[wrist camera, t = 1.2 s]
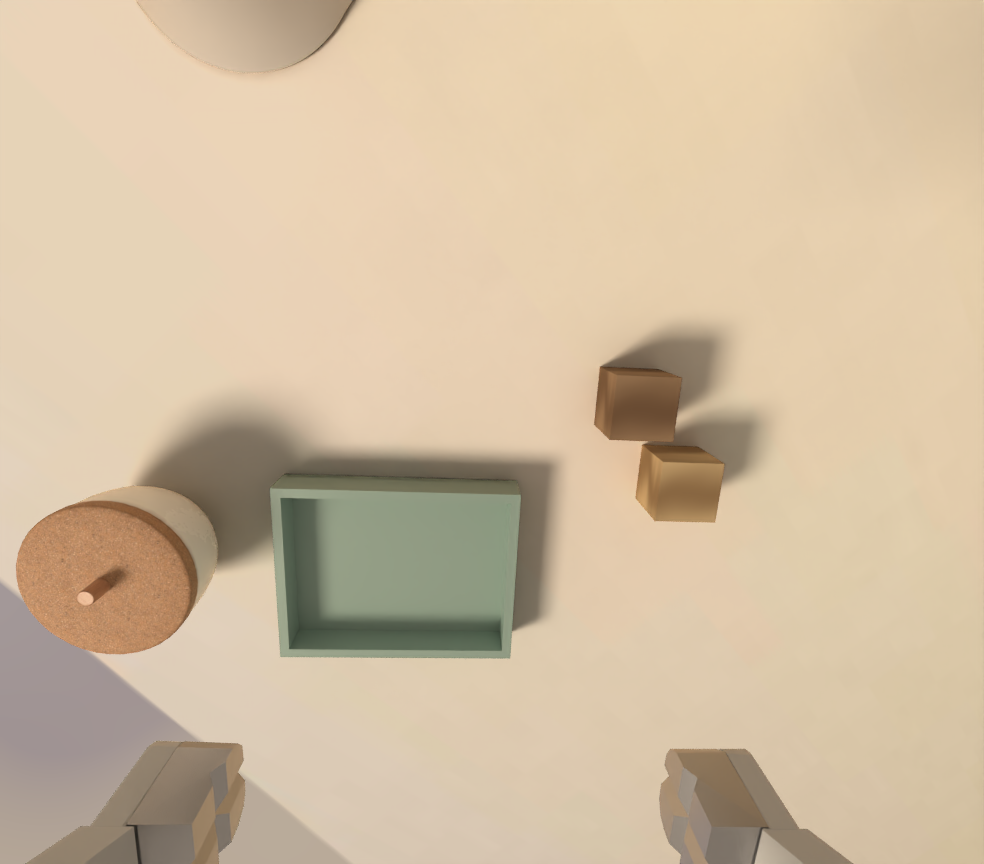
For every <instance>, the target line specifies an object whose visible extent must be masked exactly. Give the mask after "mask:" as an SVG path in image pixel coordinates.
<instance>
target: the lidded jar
mask: <svg viewBox="0 0 984 864" xmlns="http://www.w3.org/2000/svg"><path fill="white" fill-rule="evenodd" d="M217 555H218V545H217V539H216V535H215V532H214V528H213V526H212V524H211V522H210V520H209V519H208V517H207V516H206V514H205V513H204V512H203V511H202V510H201V509H200V508H199V507H198V506H197V505H196V504H195V503H194V502H192V501H191V500H189V499H188V498H186V497H185V496H183V495H180V494H178V493H176V492H173V491H170V490H167V489H164V488H159V487H153V486H129V487H122V488H117V489H112V490H109V491H105V492H102V493H99V494H96V495H93V496H91V497H88V498H86V499H84V500H82V501H80V502H78V503H76V504H73V505H70V506H67V507H65V508H62V509H60V510H58V511H56V512H54V513H52V514H50V515H48V516H47V517H45V518H44V519H42V520H41V521H40V522H38V523H37V524H36V525H35V526H34V527H33V528H32V529H31V530H30V531H29V532H28V534H27V536H26V537H25V539H24V540H23V542H22V545H21V547H20V550H19V552H18V558H17V563H16V574H17V582H18V587H19V590H20V593H21V595H22V597H23V600H24V602H25V603H26V605H27V607H28V608H29V610H30V612H31V613H32V614H33V615H34V616H35V617H36V619H37V620H38V621H39V622H40V623H41V624H42V625H43V626H44V627H46V629H47V630H49V631H50V632H51V633H53V634H54V635H56V636H57V637H59V638H60V639H62V640H64V641H66V642H68V643H70V644H72V645H75V646H77V647H79V648H82V649H85V650H89V651H93V652H97V653H105V654H127V653H134V652H139V651H143V650H146V649H149V648H152V647H154V646H156V645H158V644H160V643H162V642H163V641H165V640H166V639H168V638H169V637H170V636H171V635H172V634H173V633H175V632H176V631H177V630H178V629H179V627H180V626H181V625H182V624H183V622H184V621H185V620H186V618H187V617H188V616H189V614H190V612H191V611H192V609H193V608H194V607H195V606H196V604H197V603H198V602H199V600H200V599H201V597H202V596H203V594H204V593H205V591H206V589H207V587H208V585H209V583H210V581H211V579H212V577H213V574H214V571H215V568H216V564H217Z"/></svg>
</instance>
